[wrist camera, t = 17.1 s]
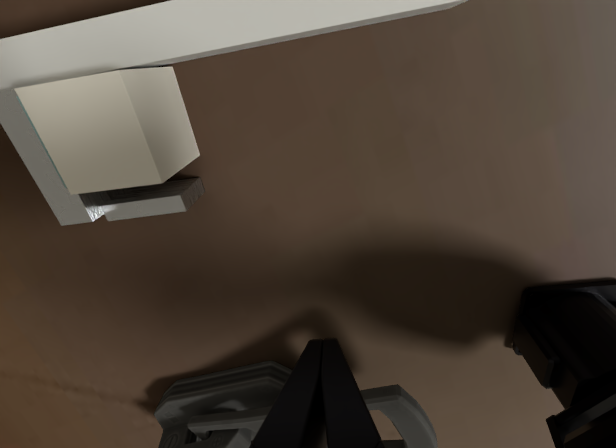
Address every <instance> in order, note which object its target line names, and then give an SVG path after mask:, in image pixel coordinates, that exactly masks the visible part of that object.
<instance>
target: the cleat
mask: <svg viewBox="0 0 616 448" xmlns="http://www.w3.org/2000/svg"><path fill="white" fill-rule="evenodd" d="M17 96H18V95H17V93H16V91H15V89H11V90H6V91H1V92H0V123H1V125H2V127H3V128H4V130H5V132H6V133H7V135H8V137H9V138H10V140H11V142H12V143H13V145H14V147H15V148H16V150H17V152H18V153H19V155H20V157H21V158H22V160H23V162H24V164H25V165H26V167H27V169H28V170H29V172H30V174H31V175H32V177H33V179H34V180H35V182H36V184H37V185H38V187H39V189H40V190H41V192H42V194H43V195H44V197H45V199H46V201H47V202H48V204H49V206H50V207H51V209H52V211H53V212H54V214H55V216H56V217H57V219H58V221H59V222H60V224H61V226H63V225H71V224H79V223H86V222H93V221H95V220H96V219H97V218H99V217H100V216H102V215H103V214H105V216H106V218H107V220H108V221H114V220H122V219H130V218H137V217H145V216H153V215H161V214H169V213H176V212H184V211H187V210H188V209H189V208H190V207H191V206H192V205H193V204H194V203H195V202H196V200H197V199H198V198H199V197H200V196H201V195H202V194H203V193H204V192H205V190H204V187H203V184H202V181H201V178H200V177H197V178H190V179H183V180H176V181H169V182H164V183H161V184H153V185H145V186H137V187H129V188H121V189H113V190H105V191H97V192H89V193H81V194H73V195H71V194H70V192H69V190H68V189H67V188H65V186H64V185H63V183H62V181H61V179H60V177H59V175H58V173H57V172H56V170H55V168H54V166H53V164H52V162H51V160H50V159H49V157H48V155H47V153H46V151H45V149H44V147H43V146H42V144H41V142H40V140H39V138H38V136H37V134H36V133H35V131H34V129H33V127H32V125H31V123H30V121H29V120H28V118H27V116H26V114H25V112H24V110H23V108H22V106H21V105H20V103H19V101H18V99H17Z"/></svg>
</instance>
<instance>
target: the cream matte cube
mask: <svg viewBox="0 0 616 448" xmlns="http://www.w3.org/2000/svg"><path fill="white" fill-rule="evenodd" d="M15 91H16V93H17V95H18V96H17V99H18V101H19V103H20V105H21V106H22V108H23V110H24V112H25V114H26V116H27V118H28V120H29V121H30V123H31V125H32V127H33V129H34V131H35V133H36V134H37V136H38V138H39V140H40V142H41V144H42V146H43V147H44V149H45V151H46V153H47V155H48V157H49V159H50V160H51V162H52V164H53V166H54V168H55V170H56V172H57V173H58V175H59V177H60V179H61V181H62V183H63V185H64V186H65V188H67V189H68V190H69V192H70V194H71V195H73V194H81V193H89V192H97V191H105V190H113V189H121V188H129V187H137V186H145V185H153V184H161V183H164V182H165V181H166V180H168V179H169V178H170V177H172V176H173V175H174V174H176V173H177V172H178V171H180V170H181V169H182V168H184V167H185V166H186V165H188V164H189V163H190V162H192V161H193V160H194V159H196V158H197V157H198V156H200V154H199V150H198V147H197V144H196V141H195V137H194V134H193V131H192V128H191V125H190V121H189V118H188V115H187V112H186V109H185V105H184V102H183V99H182V96H181V92H180V89H179V86H178V83H177V80H176V76H175V73H174V70H173V67H156V68H141V69H126V70H116V71H110V72H105V73H99V74H94V75H88V76H82V77H77V78H71V79H65V80H60V81H54V82H49V83H43V84H37V85H32V86H26V87H20V88H15Z"/></svg>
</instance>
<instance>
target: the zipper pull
mask: <svg viewBox="0 0 616 448" xmlns="http://www.w3.org/2000/svg"><path fill="white" fill-rule="evenodd" d="M291 372H292V370H291V369H289V368H287V367H285V366H283V365H281V364H278V363H276V362H274V361H266V362H261V363H256V364H252V365H247V366H243V367H238V368H233V369H229V370H224V371H220V372H215V373H210V374H206V375H201V376H196V377H191V378H186V379H181V380H177V381H176V382H175V383H174V384H173V385H172V386H171V387H170V388H169V389H168V390H167V391H166V392H165V393H164V394H163V396H162V398H161V400H160V402H159V404H158V406H157V408H156V410H155V412H154V416H155V417H156V419H157V420H158V422H159V424H160V425H161V427H162V428H163V434H162V437H161V441H160V444H159V447H158V448H249V446H250V444H253V439H254V437H255V436H256V434H257V432H258V430H259V429H260V427H261V425H262V423H263V422H264V420H265V418H266V416H267V414H268V413H269V411H270V409H271V407H272V406H273V404H274V402H275V400H276V399H277V397H278V395H279V393H280V391H281V390H282V388H283V386H284V384H285V383H286V381H287V379H288V377H289V376H290V374H291ZM360 392H361V394H362V397H363V399H364V401H365V403H366V406H367V408H368V410H380V411H381V412H382V413H384V414H385V415H386V416H387V417H388V418H389V419H390V420H391V421H392V423H393V424H394V426H395V427H396V429H397V430H398V432H399V433H400V435H401V437H402V438H403V440H383V441H382V440H381V441H382V442H383V444H384V446H385V448H437V438H436V434H435V431H434V428H433V426H432V423H431V422H430V420H429V418H428V416H427V415H426V413H425V411H424V410H423V409H422V407H421V406H420V405H419V404H418V402H417V401H416V400H415V399H414V398H413V397H412V396H410V395H409V394H408V393H407V392H406V391H405V390H404V389H403V388H402V387H400V386H399V385H398V384H397V385H391V386H385V387H379V388H373V389H367V390H361V391H360Z"/></svg>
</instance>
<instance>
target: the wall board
mask: <svg viewBox="0 0 616 448" xmlns="http://www.w3.org/2000/svg"><path fill="white" fill-rule="evenodd" d="M466 1H469V0H171V1H166V2H162V3H157V4H153V5H149V6H144V7H140V8H135V9H131V10H127V11H122V12H118V13H113V14H109V15H104V16H100V17H96V18H91V19H87V20H82V21H78V22H74V23H69V24H65V25H60V26H56V27H52V28H47V29H43V30H38V31H34V32H30V33H25V34H21V35H16V36H12V37H8V38H3V39H0V92H1V91H6V90H11V89H15V88H20V87H26V86H32V85H37V84H43V83H49V82H54V81H60V80H65V79H71V78H77V77H82V76H88V75H94V74H99V73H105V72H110V71H116V70H126V69H141V68H152V67H157V66H162V65H167V64H172V63H177V62H182V61H187V60H192V59H197V58H203V57H208V56H213V55H218V54H223V53H228V52H233V51H238V50H243V49H248V48H253V47H258V46H263V45H268V44H273V43H278V42H284V41H289V40H294V39H299V38H304V37H309V36H314V35H319V34H324V33H329V32H334V31H339V30H344V29H349V28H354V27H359V26H364V25H370V24H375V23H380V22H385V21H390V20H395V19H400V18H405V17H410V16H415V15H420V14H425V13H430V12H435V11H440V10H445V9H449V8H451V7H454V6H456V5H459V4H461V3H464V2H466Z"/></svg>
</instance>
